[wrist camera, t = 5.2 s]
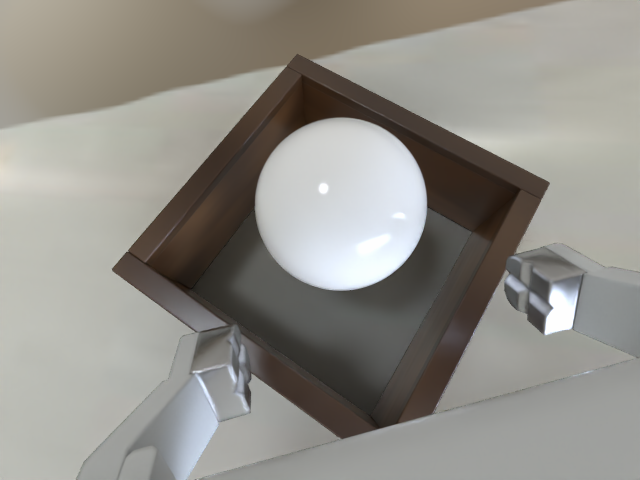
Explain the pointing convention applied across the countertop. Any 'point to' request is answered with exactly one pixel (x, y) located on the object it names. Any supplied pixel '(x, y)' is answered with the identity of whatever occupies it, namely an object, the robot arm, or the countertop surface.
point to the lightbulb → (340, 204)
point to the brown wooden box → (442, 196)
